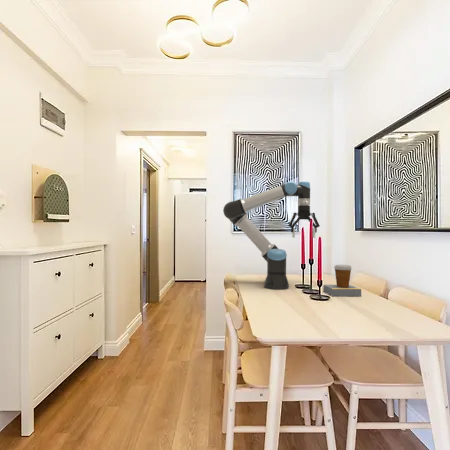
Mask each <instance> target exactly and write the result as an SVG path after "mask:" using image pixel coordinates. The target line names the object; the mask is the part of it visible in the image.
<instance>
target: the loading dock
mask: <svg viewBox="0 0 450 450" xmlns="http://www.w3.org/2000/svg"><path fill="white" fill-rule="evenodd" d="M322 286H323V288H322V289H323V293H326V294H328V295H330V296H331V297H362V288H360V287H357V286H355V285H352V284H349V287H348V288H341V287H337V284H323V285H322Z"/></svg>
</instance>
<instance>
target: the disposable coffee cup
mask: <svg viewBox="0 0 450 450" xmlns="http://www.w3.org/2000/svg"><path fill="white" fill-rule="evenodd" d="M333 268H334V271H335V281H336V283H335V284H336V285H337V287H341V288H348V287H349V285H350V278H351V273H352V272H351V271H352V269H353V268H352V266H351V265H349V264H335V265H334V267H333Z"/></svg>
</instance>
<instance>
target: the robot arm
mask: <svg viewBox="0 0 450 450" xmlns="http://www.w3.org/2000/svg"><path fill="white" fill-rule="evenodd" d="M285 197H297V198H298V201H297V202H298V207H297V208H298V209H297V212H293V215H292V218H291V219H290V221H289V223H288V225H287V226H288V227H289V228H290V232H291V233H292V234H291V235H292V238H293V239H294V238H296V228H295V226H296V225H297V224H298V223H299V221H300V220H304V221H305V220H306V221H308V222H309V223H310V220H312V219H313V220H312V221H313V225H312V238H313V239H315V238H316V234H317V231H318V229H317V228H319V227H320V226H321V225H320V224H319V221H318V219H317V217H316V213H315V212H311V183H310V182H309V181H299V182H298V183H297V184H296V183H295V181H288V182H286V183H284V184H281V185H279V186H276V187H274V188H270V189H268V190H265V191H262V192H260V193H257V194H254V195H252V196H249V197H246V198H244V199H242V198H238V199H236V200H233V201H228V202H227V203H226V204H225V205H224V207H223V210H222V211H223V215H224V217H225V218H226V219H228V220H229V221H230V223H232V224H233V226H235V227H238V228H239V229H240V230H241V231H242V232H243V233H244V234H245V236H246V237H247V238H248V239H249V240H250V242H252V243H253V245H254V246H255V247H256V248H257V249H258V250H259V251H260V252H261V257H262V258H263V259H264V260H265V261H266V264H267V265H266V268H267V271H266V272H267V273H266V277H265V280H264V284H263V285H264V288H266V289H269V290H272V289H273V290H287V289H289V288H290V283H289V280H288V277H287V256H288V254H287V251H286V250H285V249H282V248H279V247H278V246H277V245H276V244H272V243H271V242H270V240H268V238H267V237H265V235H264V234H263V233H262V232H261V231H260V229H258V227H257V226H256V225H255V224H254V223H253V222H252V221H251V219H250V218H249V217H248V213H247V212H248V211H250V210H253V209H256V208H258V207H261V206H264V205H266V204H269V203H272V202H274V201H277V200H280V199H283V198H285ZM297 216H298V217H297ZM310 216H311V217H310ZM296 217H297V219H296ZM295 219H296V220H295ZM294 220H295V221H294Z"/></svg>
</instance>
